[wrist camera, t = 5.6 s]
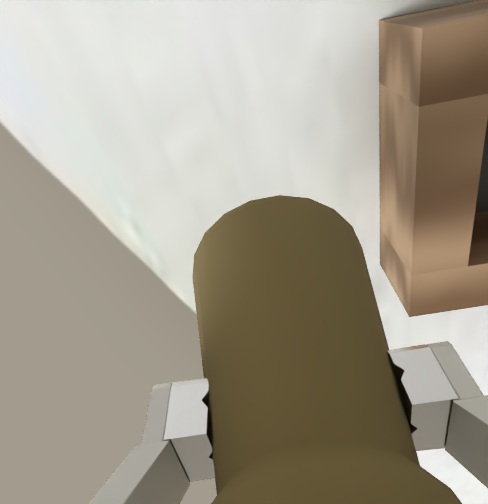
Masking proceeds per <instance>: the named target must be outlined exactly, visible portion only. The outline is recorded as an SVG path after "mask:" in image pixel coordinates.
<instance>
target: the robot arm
mask: <svg viewBox="0 0 488 504" xmlns="http://www.w3.org/2000/svg"><path fill="white" fill-rule="evenodd" d="M387 353H388V356H389V360H390V363H391V366H392V369H393V372H394V375H395V377H396V380H397V382H398V385H399V389H400V395H401V398H402V401H403V404H404V408H405V412H406V416H407V419H408V423H409V427H410V431H411V434H412V438H413V442H414V446H415V449H416V451H421V450H430V449H440V448H445V450H446V451H447V452H448V453H449V454H450V455H451V456H453V457H454V458H455V459H456V460H457V461H458V462H459V463H460V464H461V465H463V466H464V467H465V468H466V469H467V470H468V471H469V472H470V473H471V474H473V475H474V476H475V477H476V478H477V479H478V480H479V481H480V482H481V483H483V484H484V485H485V486H486V487H487V488H488V395H487V396H484V395H483V393H482V392H481V390H480V389H479V387H478V386H477V384H476V382H475V381H474V379H473V378H472V376H471V374H470V373H469V371H468V370H467V368H466V366H465V365H464V363H463V362H462V360H461V359H460V357H459V355H458V354H457V352H456V351H455V349H454V347H453V346H452V344H450V343H449V342H448V341H447V342H440V343H434V344H427V345H419V346H412V347H406V348H400V349H394V350H388V351H387ZM208 406H209V384H208V379H207V378H205V379H197V380H189V381H181V382H174V383H166V384H159V385H154V386H153V388H152V390H151V394H150V399H149V404H148V410H147V415H146V421H145V427H144V431H143V437H142V442H141V444H138V445H135V446H134V448H133V449H132V450H131V451H130V452H129V454H128V455H127V456H126V458H125V459H124V460H123V461H122V463H121V464H120V465H119V466H118V468H117V469H116V470H115V471H114V473H113V474H112V475H111V476H110V478H109V479H108V480H107V481H106V483H105V484H104V485H103V487H102V488H101V489H100V490H99V492H98V493H97V494H96V495H95V496H94V498H93V499H92V500H91V501H90V503H89V504H180V502H181V500H182V498H183V496H184V494H185V493H186V491H187V489H188V487H189V485H190V483H189V482H193V481H199V480H205V479H211V478H215V472H214V463H213V454H212V435H211V417H210V412H209V410H208Z"/></svg>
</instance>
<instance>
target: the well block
mask: <svg viewBox="0 0 488 504" xmlns="http://www.w3.org/2000/svg"><path fill="white" fill-rule="evenodd" d="M379 113H380V265H381V267H382V269H383V270H384V272H385V274H386V276H387V278H388V279H389V281H390V283H391V285H392V287H393V288H394V290H395V292H396V294H397V295H398V297H399V299H400V301H401V303H402V304H403V306H404V308H405V310H406V312H407V313H408V315H409V317H412V316H419V315H425V314H432V313H438V312H445V311H451V310H458V309H464V308H471V307H477V306H484V305H488V0H477V1H472V2H467V3H463V4H458V5H453V6H448V7H443V8H438V9H433V10H428V11H423V12H418V13H413V14H408V15H403V16H398V17H393V18H389V19H384V20H379Z"/></svg>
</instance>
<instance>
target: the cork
mask: <svg viewBox="0 0 488 504" xmlns="http://www.w3.org/2000/svg"><path fill="white" fill-rule="evenodd" d="M193 284H194V293H195V302H196V311H197V320H198V329H199V338H200V346H201V356H202V365H203V374H204V379H205V378H207V379H208V384H209V406H208V410H209V412H210V417H211V435H212V454H213V463H214V472H215V480H216V489H217V496H216V498H215V500H214V501H213V503H212V504H462V503H461V502H460V500H459V499H458V498H457V496H456V495H455V494H454V492H453V491H452V490H451V488H449V487H448V486H447V485H445V484H444V483H442V482H441V481H440V480H438V479H437V478H435V477H434V476H433V475H431V474H430V473H429V472H427V471H426V470H424V469H423V468H422V467H420V465H419V461H418V457H417V453H416V449H415V446H414V442H413V438H412V434H411V431H410V427H409V423H408V419H407V416H406V412H405V408H404V404H403V401H402V398H401V395H400V389H399V385H398V382H397V380H396V377H395V375H394V372H393V369H392V366H391V363H390V360H389V356H388V353H387V351H388V350H389V348H388V344H387V340H386V337H385V333H384V329H383V325H382V321H381V318H380V314H379V310H378V306H377V303H376V299H375V295H374V291H373V288H372V284H371V280H370V276H369V272H368V269H367V265H366V261H365V257H364V254H363V250H362V247H361V244H360V242H359V240H358V238H357V236H356V234H355V231H354V229H353V227H352V226H351V225H350V224H349V223H348V222H347V221H346V220H345V219H344V218H343V217H342V216H341V215H340V214H338V213H337V212H336V211H335V210H334V209H332V208H330V207H328V206H325V205H323V204H321V203H318V202H316V201H314V200H311V199H309V198H300V197H291V196H281V195H279V196H274V197H268V198H263V199H258V200H252V201H249V202H247V203H245V204H243V205H241V206H239V207H237V208H235V209H233V210H231V211H229V212H227V213H225V214H224V215H223V216H222V217H221V218H220V219H219V220H218V221H217V222H216V223H215V224H214V225H213V226H212V227H211V228H210V229H209V230H208V231H207V232H206V233H205V234H204V236H203V238H202V240H201V242H200V244H199V246H198V248H197V251H196V253H195V255H194V266H193Z"/></svg>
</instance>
